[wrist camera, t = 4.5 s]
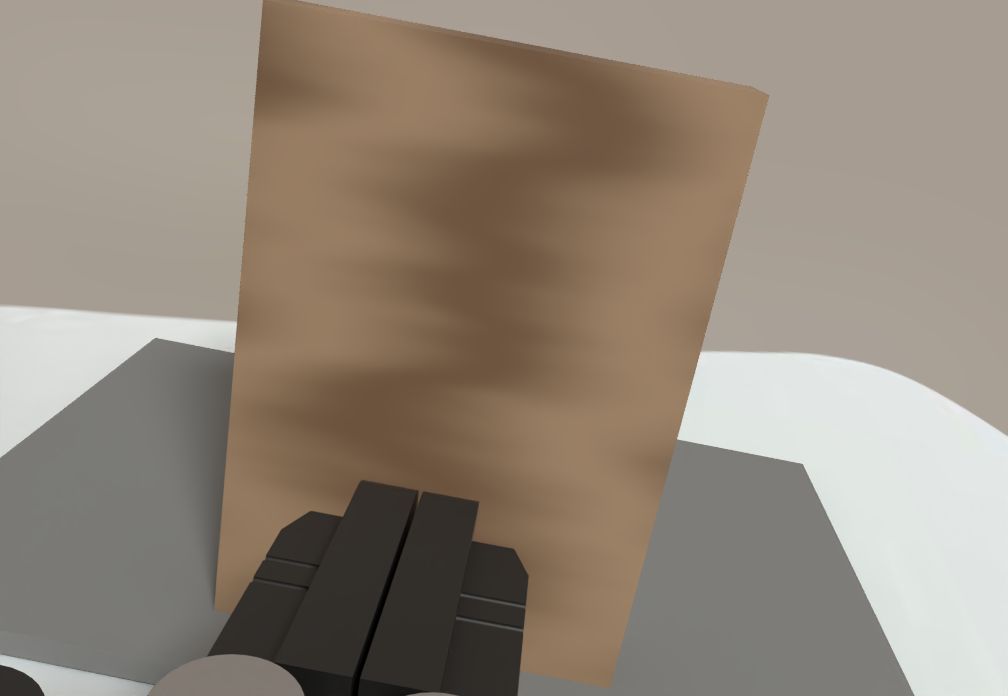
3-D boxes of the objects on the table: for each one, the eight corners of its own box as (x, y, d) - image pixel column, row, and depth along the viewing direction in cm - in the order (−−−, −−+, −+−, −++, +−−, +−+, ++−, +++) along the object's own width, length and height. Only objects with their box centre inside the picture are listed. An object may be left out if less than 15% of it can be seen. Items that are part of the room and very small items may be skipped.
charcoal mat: (-175, 619, 19) (-178, 595, 19) (154, 352, 34) (155, 337, 34) (966, 846, 19) (976, 825, 19) (797, 478, 34) (802, 463, 34)
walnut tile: (214, 610, 21) (263, -1, 16) (246, 556, 23) (299, -1, 18) (609, 688, 21) (768, 95, 16) (607, 627, 23) (748, 85, 18)
